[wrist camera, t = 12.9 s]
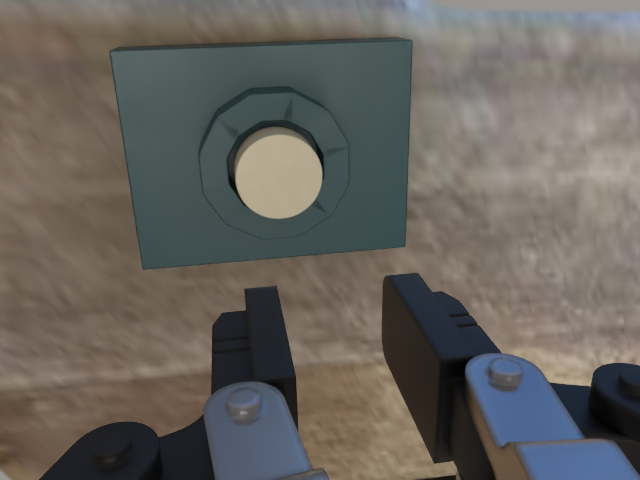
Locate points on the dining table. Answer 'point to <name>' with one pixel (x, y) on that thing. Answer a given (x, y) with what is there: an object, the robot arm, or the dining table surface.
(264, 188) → the button
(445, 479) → the bracket
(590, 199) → the dining table surface
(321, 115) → the control block
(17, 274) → the dining table surface
